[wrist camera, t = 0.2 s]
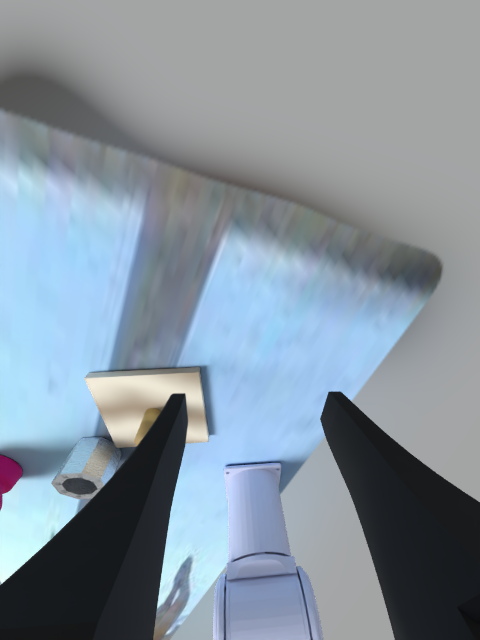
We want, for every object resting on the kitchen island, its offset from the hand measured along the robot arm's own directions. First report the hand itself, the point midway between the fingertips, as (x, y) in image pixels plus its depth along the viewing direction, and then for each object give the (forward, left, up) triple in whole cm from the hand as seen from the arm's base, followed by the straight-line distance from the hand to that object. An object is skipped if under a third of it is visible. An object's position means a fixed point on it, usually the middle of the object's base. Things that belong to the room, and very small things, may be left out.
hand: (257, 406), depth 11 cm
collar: (-18, +19, -10) cm, 28 cm away
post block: (-11, +10, -10) cm, 18 cm away
